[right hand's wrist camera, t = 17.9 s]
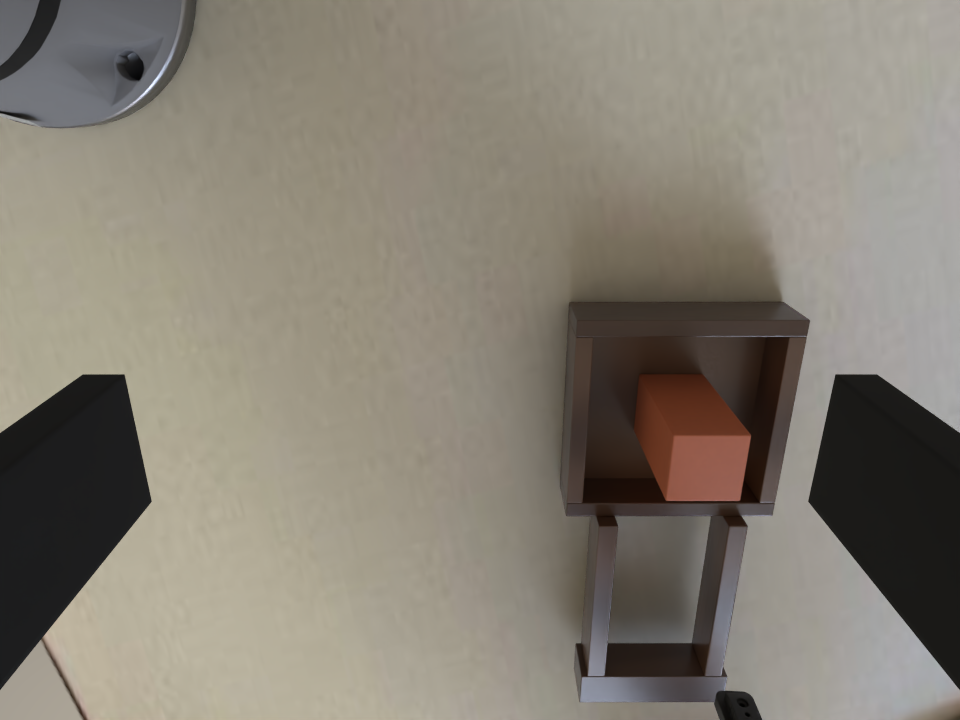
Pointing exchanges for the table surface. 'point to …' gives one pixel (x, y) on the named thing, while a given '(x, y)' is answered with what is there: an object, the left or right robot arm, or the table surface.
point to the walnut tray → (633, 487)
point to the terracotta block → (690, 438)
